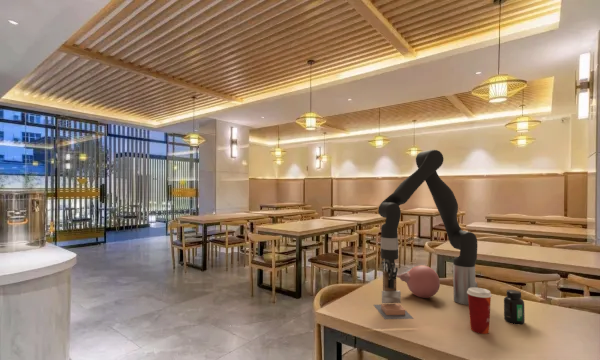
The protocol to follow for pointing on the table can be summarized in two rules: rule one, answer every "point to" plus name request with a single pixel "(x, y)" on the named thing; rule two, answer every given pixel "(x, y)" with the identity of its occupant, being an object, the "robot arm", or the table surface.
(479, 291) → the coffee cup
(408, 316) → the mat
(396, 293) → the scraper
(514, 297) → the supplement bottle
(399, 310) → the tile
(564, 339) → the table surface
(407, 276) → the pink rounded piece
